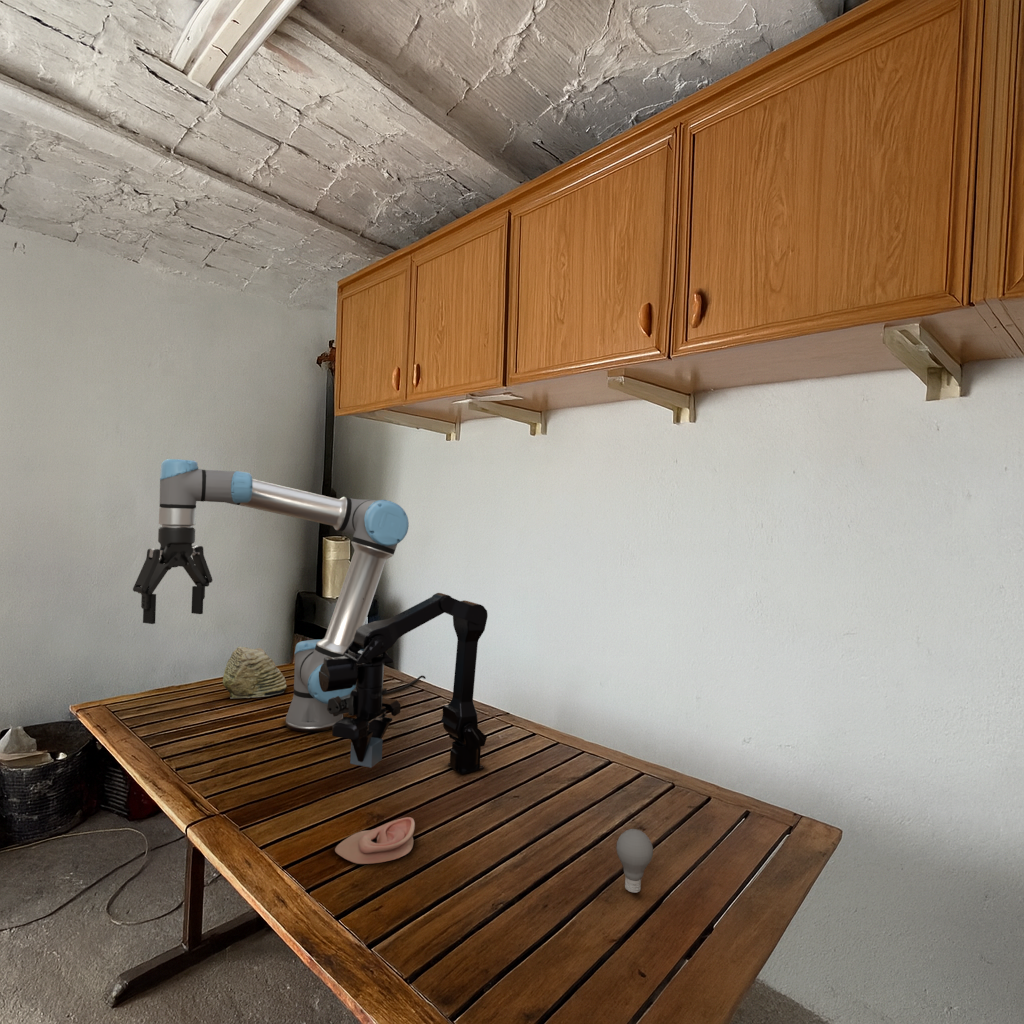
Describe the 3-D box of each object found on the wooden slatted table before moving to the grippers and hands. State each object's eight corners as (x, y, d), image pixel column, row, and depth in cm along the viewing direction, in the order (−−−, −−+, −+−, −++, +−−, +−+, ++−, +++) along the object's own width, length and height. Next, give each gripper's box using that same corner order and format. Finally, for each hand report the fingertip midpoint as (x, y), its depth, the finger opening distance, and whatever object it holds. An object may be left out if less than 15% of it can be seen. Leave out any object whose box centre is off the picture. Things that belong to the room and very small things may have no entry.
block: (361, 755, 139) (362, 735, 139) (382, 759, 137) (382, 738, 137) (350, 763, 135) (350, 742, 135) (371, 767, 133) (372, 746, 133)
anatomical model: (327, 836, 111) (356, 806, 122) (326, 858, 111) (355, 826, 122) (398, 848, 108) (421, 815, 119) (397, 871, 108) (420, 836, 119)
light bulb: (610, 879, 108) (613, 822, 108) (644, 879, 109) (647, 822, 109) (619, 902, 102) (622, 840, 102) (655, 901, 103) (658, 840, 103)
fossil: (218, 695, 195) (220, 647, 195) (278, 685, 208) (279, 640, 207) (228, 703, 189) (230, 653, 188) (289, 692, 201) (290, 645, 201)
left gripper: (205, 524, 159) (202, 608, 159) (116, 527, 135) (112, 625, 136) (230, 525, 157) (226, 611, 157) (143, 528, 133) (139, 629, 133)
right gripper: (359, 669, 147) (357, 736, 147) (310, 691, 129) (308, 767, 130) (402, 675, 144) (400, 743, 144) (358, 699, 126) (355, 777, 126)
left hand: (174, 618), depth 146 cm, fingers open, 13 cm apart
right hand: (366, 757), depth 136 cm, fingers closed on block, 4 cm apart
